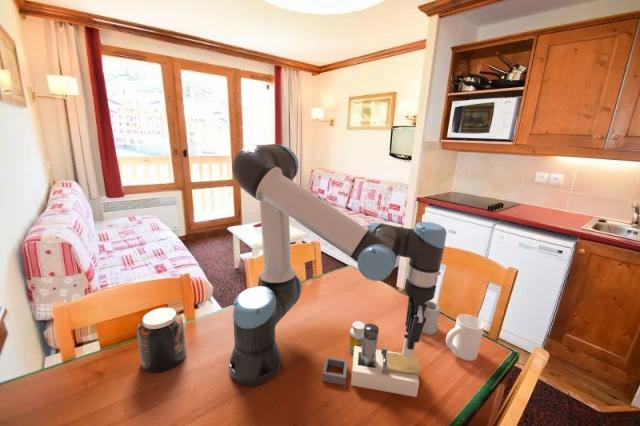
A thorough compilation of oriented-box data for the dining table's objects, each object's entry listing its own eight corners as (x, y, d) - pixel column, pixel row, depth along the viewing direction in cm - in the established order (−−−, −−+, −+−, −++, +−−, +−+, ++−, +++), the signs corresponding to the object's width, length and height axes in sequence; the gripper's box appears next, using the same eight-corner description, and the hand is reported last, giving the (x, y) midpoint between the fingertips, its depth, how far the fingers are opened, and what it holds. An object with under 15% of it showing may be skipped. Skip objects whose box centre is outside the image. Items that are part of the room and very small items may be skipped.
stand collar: (322, 380, 81) (322, 373, 81) (325, 363, 88) (326, 356, 87) (345, 384, 80) (345, 377, 80) (346, 366, 87) (347, 360, 86)
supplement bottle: (357, 341, 97) (359, 317, 95) (368, 351, 93) (370, 326, 91) (345, 347, 94) (347, 322, 92) (355, 358, 90) (358, 332, 88)
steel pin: (359, 377, 83) (364, 331, 79) (359, 367, 87) (364, 322, 82) (373, 380, 82) (378, 333, 78) (372, 369, 86) (378, 324, 82)
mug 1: (441, 333, 104) (447, 305, 101) (413, 338, 101) (418, 308, 97) (428, 320, 111) (433, 293, 108) (401, 324, 108) (406, 296, 104)
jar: (152, 380, 78) (146, 335, 74) (135, 359, 85) (128, 316, 81) (193, 356, 88) (189, 314, 84) (174, 339, 94) (170, 299, 90)
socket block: (351, 385, 80) (353, 365, 78) (353, 358, 90) (354, 340, 88) (416, 397, 78) (420, 377, 76) (411, 368, 87) (414, 350, 85)
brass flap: (383, 370, 80) (383, 367, 79) (382, 354, 85) (382, 351, 85) (420, 374, 78) (420, 371, 78) (416, 358, 84) (417, 355, 83)
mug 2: (435, 346, 97) (441, 316, 94) (464, 341, 100) (471, 312, 97) (451, 364, 90) (458, 332, 86) (482, 358, 93) (490, 327, 89)
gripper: (442, 296, 67) (425, 375, 74) (431, 271, 80) (417, 341, 86) (409, 291, 68) (396, 370, 75) (403, 267, 81) (392, 337, 87)
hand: (407, 354), depth 81 cm, fingers closed
